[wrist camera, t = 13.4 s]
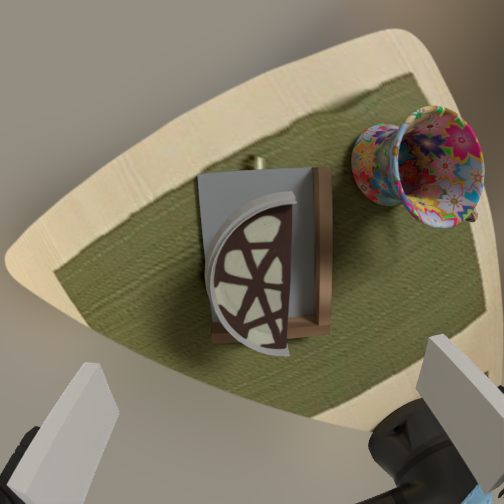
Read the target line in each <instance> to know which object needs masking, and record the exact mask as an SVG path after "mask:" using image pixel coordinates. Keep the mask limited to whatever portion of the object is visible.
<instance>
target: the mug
mask: <svg viewBox="0 0 504 504" xmlns="http://www.w3.org/2000/svg"><path fill="white" fill-rule="evenodd" d="M351 167H352V173H353V176H354V179H355V182H356V184H357V186H358V187H359V189H360V190H361V192H362V193H363V194H364V195H365V196H366V197H367V198H368V199H370V200H371V201H373V202H375V203H377V204H379V205H383V206H395V205H399V204H402V203H403V204H404V206H405V208H406V209H407V210H408V211H409V213H410V214H411V215H412V216H413V217H414V218H415V219H417V220H418V221H419V222H421V223H422V224H424V225H426V226H429V227H432V228H437V229H445V228H450V227H453V226H456V225H458V224H459V223H461V222H462V221H464V220H467V221H469V222H475V221H476V219H477V217H478V213H477V211H476V209H475V207H476V205H477V203H478V201H479V198H480V196H481V192H482V189H483V183H484V160H483V155H482V151H481V147H480V145H479V142H478V140H477V138H476V135H475V134H474V132H473V130H472V129H471V128H470V126H469V125H468V124H467V122H466V121H465V120H464V119H463V118H462V117H461V116H459V115H458V114H457V113H455V112H453V111H452V110H450V109H447V108H444V107H440V106H427V107H423V108H420V109H418V110H416V111H414V112H413V113H411V114H410V115H409V116H408V117H407V118H406V119H405V120H404V122H403V123H402V125H401V126H400V127H398V126H396V125H392V124H377V125H374V126H372V127H370V128H368V129H367V130H365V131H364V132H363V133H362V134H361V135H360V137H359V138H358V139H357V141H356V143H355V145H354V148H353V151H352V157H351Z"/></svg>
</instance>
